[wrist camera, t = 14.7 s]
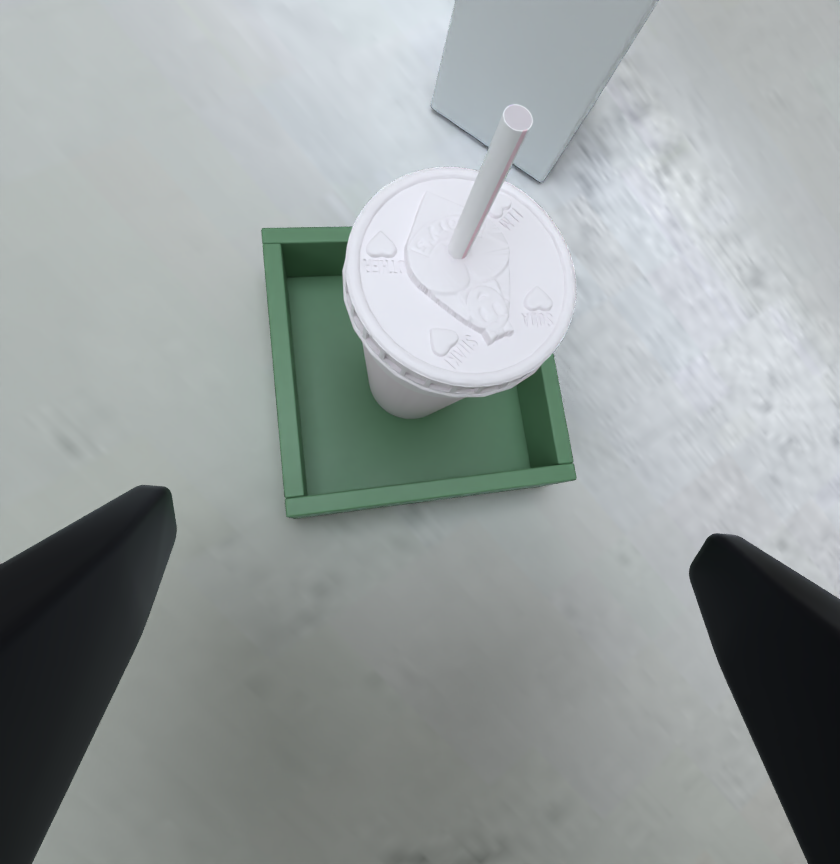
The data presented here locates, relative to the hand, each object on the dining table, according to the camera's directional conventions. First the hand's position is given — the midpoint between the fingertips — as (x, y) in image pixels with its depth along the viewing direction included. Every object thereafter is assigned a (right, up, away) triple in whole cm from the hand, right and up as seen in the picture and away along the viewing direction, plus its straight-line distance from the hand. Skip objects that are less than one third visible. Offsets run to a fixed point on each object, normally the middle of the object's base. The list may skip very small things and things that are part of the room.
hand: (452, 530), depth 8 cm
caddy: (-1, +4, +15) cm, 15 cm away
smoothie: (-1, +4, +14) cm, 15 cm away
